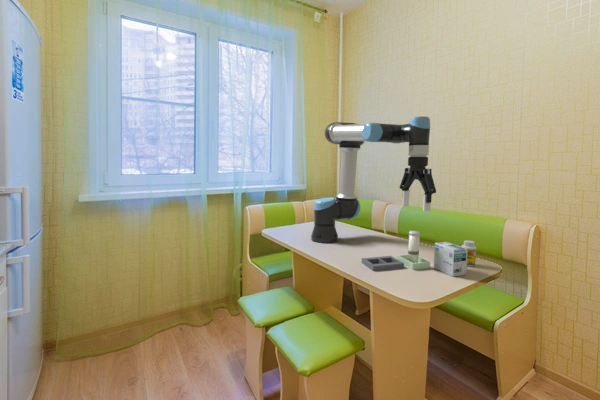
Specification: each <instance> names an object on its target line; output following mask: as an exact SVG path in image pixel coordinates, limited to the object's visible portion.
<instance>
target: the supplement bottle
mask: <svg viewBox="0 0 600 400" xmlns="http://www.w3.org/2000/svg"><path fill="white" fill-rule="evenodd" d="M461 247H464V248H468V252H467V267H474V266H475V265H476V256H477V247H476V246H475V241H474V240H469V239H468V240H467V239H466V240H464V241H463V244H462V245H461Z"/></svg>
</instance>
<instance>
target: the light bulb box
mask: <svg viewBox="0 0 600 400" xmlns="http://www.w3.org/2000/svg"><path fill="white" fill-rule="evenodd" d="M461 246H462V245H461ZM461 246H460V245H458V244H454V243H451V242H449V241H443V242H442V241H441V242H434V253H433V256H434V257H433V268H434V269H436V270H439V271H440V272H442V273H444V274H446V275H449V276H451V277H460V276H467V268H468V266H467V252H468V248H464V247H461Z"/></svg>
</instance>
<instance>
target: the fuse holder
mask: <svg viewBox="0 0 600 400" xmlns="http://www.w3.org/2000/svg"><path fill="white" fill-rule="evenodd" d="M361 263H362V264H363V265H364V266H365V267H367V268H368V269H369V270H370V271H372V272H375V271H386V270H396V269H404V268H405V265H404V263H403V262H401V261H399V260H397V257H396V258H395V257H394V256H392V255H384V256H373V257H362V258H361Z"/></svg>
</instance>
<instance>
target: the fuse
mask: <svg viewBox="0 0 600 400" xmlns="http://www.w3.org/2000/svg"><path fill="white" fill-rule="evenodd" d="M420 238H421V231H419V230H409V232H408V248H407V249H408V250H407V255H408V261H410V262H412V263H418V258H419V257H420V256H419V254H420V242H421V239H420Z"/></svg>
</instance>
